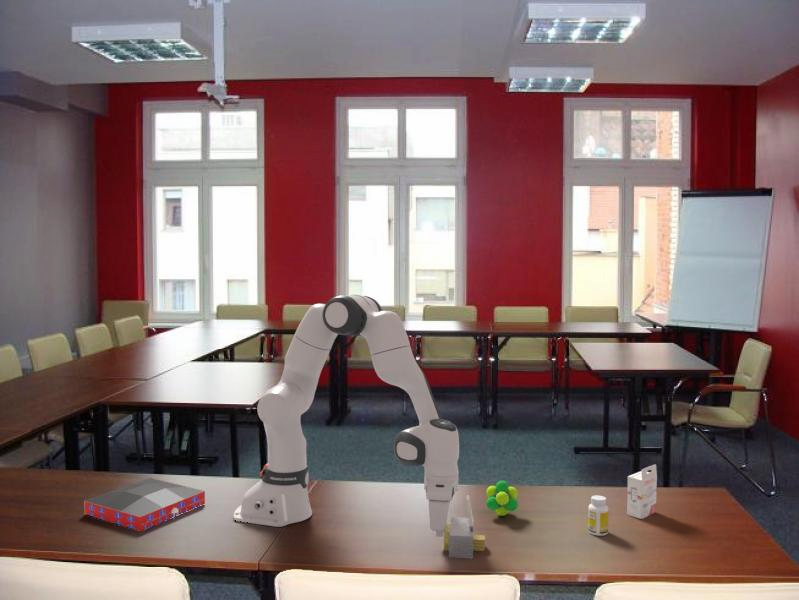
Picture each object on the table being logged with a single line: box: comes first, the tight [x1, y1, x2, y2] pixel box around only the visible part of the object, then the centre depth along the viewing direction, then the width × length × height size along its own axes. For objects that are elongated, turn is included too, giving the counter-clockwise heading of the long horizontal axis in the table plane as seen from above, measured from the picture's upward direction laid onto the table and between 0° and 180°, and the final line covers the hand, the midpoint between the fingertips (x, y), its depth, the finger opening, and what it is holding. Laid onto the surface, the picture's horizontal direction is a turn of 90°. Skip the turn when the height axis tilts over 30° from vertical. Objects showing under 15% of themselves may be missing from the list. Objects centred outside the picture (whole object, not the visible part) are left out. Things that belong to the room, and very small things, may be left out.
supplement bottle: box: [587, 494, 610, 537], centre depth 195 cm, size 5×5×10 cm
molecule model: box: [485, 480, 519, 517], centre depth 207 cm, size 8×8×8 cm
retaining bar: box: [464, 494, 475, 529], centre depth 184 cm, size 1×4×8 cm, turn 173°
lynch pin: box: [443, 523, 486, 552], centre depth 185 cm, size 10×5×5 cm, turn 83°
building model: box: [83, 477, 206, 532], centre depth 210 cm, size 24×25×7 cm
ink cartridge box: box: [626, 464, 658, 520], centre depth 209 cm, size 9×5×15 cm, turn 131°
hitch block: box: [448, 516, 475, 560], centre depth 185 cm, size 6×12×6 cm, turn 173°
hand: (439, 534), depth 185 cm, fingers closed
